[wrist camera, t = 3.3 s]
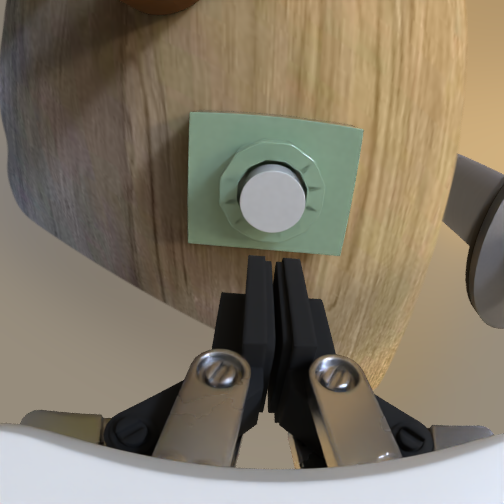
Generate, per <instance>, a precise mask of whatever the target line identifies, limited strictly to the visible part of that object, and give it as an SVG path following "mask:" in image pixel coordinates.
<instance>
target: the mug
mask: <svg viewBox="0 0 504 504" xmlns="http://www.w3.org/2000/svg"><path fill="white" fill-rule="evenodd" d="M119 1H121V2H123V3H125V4H127V5H129V6H130V7H132V8H134V9H136V10H138V11H140V12H143V13H146V14H152V15H166V14H172V13H176V12H179V11H182V10H184V9H186V8H188V7H190V6H192V5H193V4H195V3H196V2H197V1H199V0H119Z"/></svg>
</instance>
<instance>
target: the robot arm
mask: <svg viewBox="0 0 504 504" xmlns="http://www.w3.org/2000/svg"><path fill="white" fill-rule="evenodd" d="M267 389H268V412H269V413H275V414H274V415H275V423H279V425H280V426H281V427H283V428H284V429H285V430H286V431H288V440H289V445H290V449H291V453H292V458H293V462H294V466H295V469H251V468H236V463H237V460H238V456H239V452H240V447H241V443H242V439H243V434H244V433H245V432H247V431H248V430H249V429H251V428H252V427H254V426H255V425H256V424H257V420H258V414H259V412H263V409H264V404H265V399H266V394H267ZM0 504H504V433H503V434H498V435H494V434H493V433H492V431H491V430H490V429H488V428H486V427H484V426H443V425H432V426H431V427H430V428H426V427H425V426H424V425H423V424H422V423H420V422H419V421H417V420H415V419H414V418H412V417H410V416H409V415H407V414H406V413H404V412H402V411H401V410H399V409H397V408H396V407H394V406H393V405H391V404H389V403H388V402H386V401H384V400H383V399H381V398H379V397H378V396H376V395H375V394H374V393H373V391H372V389H371V386H370V384H369V382H368V380H367V378H366V376H365V374H364V372H363V370H362V369H361V367H360V366H359V365H358V364H357V363H356V362H355V361H353V360H352V359H350V358H348V357H346V356H342V355H337V354H336V353H335V349H334V345H333V341H332V337H331V333H330V329H329V325H328V321H327V317H326V313H325V309H324V305H323V302H322V300H321V299H309V298H308V294H307V290H306V285H305V280H304V275H303V271H302V266H301V262H300V259H292V258H283V259H282V262H276V265H275V273H274V280H272V263H271V261H265V256H253V255H249V256H248V268H247V280H246V292H245V294H236V293H224V292H222V293H221V298H220V304H219V310H218V315H217V321H216V327H215V334H214V340H213V345H212V350H208V351H206V352H203V353H201V354H200V355H198V356H197V357H196V358H195V359H194V361H193V362H192V363H191V365H190V368H189V370H188V372H187V375H186V377H185V379H184V380H183V381H181V382H179V383H177V384H175V385H173V386H172V387H170V388H168V389H166V390H164V391H162V392H161V393H158V394H156V395H155V396H153V397H150V398H149V399H147V400H145V401H143V402H141V403H139V404H137V405H135V406H133V407H131V408H129V409H127V410H125V411H123V412H120V413H118V414H117V415H115V416H114V417H112V418H103V417H102V415H97V414H80V413H67V412H55V411H46V410H34V411H32V412H30V413H28V414H27V415H26V416H25V417H24V418H23V419H22V421H21V423H20V424H11V423H0Z"/></svg>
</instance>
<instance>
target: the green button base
mask: <svg viewBox="0 0 504 504" xmlns="http://www.w3.org/2000/svg"><path fill="white" fill-rule="evenodd" d="M363 131H364V130H363V129H361V128H358V127H355V126H352V125H348V124H342V123H336V122H329V121H323V120H316V119H309V118H301V117H292V116H283V115H273V114H262V113H250V112H234V111H212V110H198V111H193V112H190V117H189V144H188V243H193V244H205V245H217V246H229V247H241V248H253V249H265V250H276V251H288V252H300V253H311V254H323V255H334V256H340V254H341V250H342V246H343V241H344V236H345V232H346V227H347V222H348V217H349V213H350V207H351V202H352V197H353V192H354V186H355V181H356V175H357V169H358V163H359V157H360V151H361V145H362V138H363ZM266 164H278V165H282V166H284V167H287V168H288V169H290V170H291V171H292V172H293V173H294V174H295V175H296V176H297V177H298V179H299V181H300V183H301V186H302V188H303V191H304V194H305V201H306V203H305V209H304V212H303V215H302V216H301V218H300V219H299V221H298V222H297V223H296V224H295V225H294V226H292V227H291V228H289V229H287V230H285V231H282V232H276V233H269V232H263V231H260V230H258V229H256V228H254V227H253V226H251V225H250V224H249V223H248V222H247V221H246V219H245V218H244V216H243V214H242V212H241V209H240V194H241V190H242V186H243V183H244V181H245V179H246V177H247V176H248V175H249V173H250V172H251V171H253V170H254V169H255V168H257V167H259V166H262V165H266Z"/></svg>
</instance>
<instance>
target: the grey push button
mask: <svg viewBox="0 0 504 504" xmlns="http://www.w3.org/2000/svg"><path fill="white" fill-rule="evenodd" d="M305 203H306V201H305V194H304V191H303V188H302V186H301V183H300V181H299V179H298V177H297V176H296V175H295V174H294V173H293V172H292V171H291V170H290V169H288V168H287V167H284V166H282V165H278V164H266V165H262V166H259V167H257V168H255V169H254V170H253V171H251V172H250V173H249V175H248V176H247V177H246V179H245V181H244V183H243V186H242V190H241V194H240V209H241V212H242V214H243V216H244V218H245V219H246V221H247V222H248V223H249V224H250V225H251V226H253V227H254V228H256V229H258V230H260V231H263V232H269V233H276V232H282V231H285V230H287V229H289V228H291V227H292V226H294V225H295V224H296V223H297V222H298V221H299V219H300V218H301V216H302V215H303V212H304V209H305Z"/></svg>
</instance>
